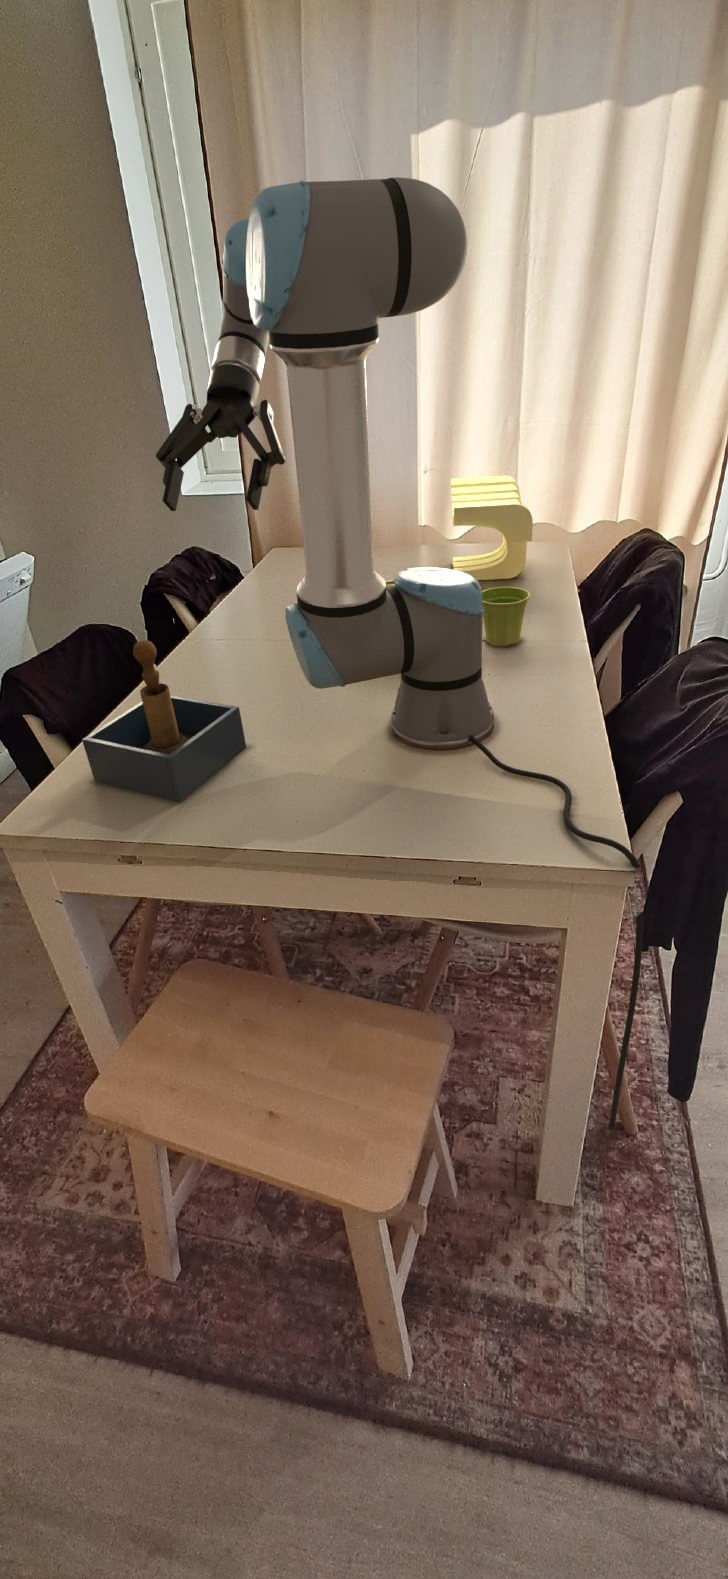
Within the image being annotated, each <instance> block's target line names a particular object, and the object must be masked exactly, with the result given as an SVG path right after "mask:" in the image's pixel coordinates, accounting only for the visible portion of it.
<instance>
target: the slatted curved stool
mask: <svg viewBox="0 0 728 1579" xmlns="http://www.w3.org/2000/svg"><path fill="white" fill-rule="evenodd" d="M450 494H451V514H452V526H453V527H459V526H460V527H461V526H463V527H464V526H466V527H467V526H468V527H469V526H470V527H471V526H473V527H474V526H475V527H486V528H490V529H493V530H494V529H495V530H497V531H499V532H500V533H501V534H502V536H503V537H502V543H501V545H500V546H499V547H497V549H495V550H492V551H490V552H487V553H482V554H477V555H476V554H475V555H470V556H458V557H456V556H455V557H452V569H453V570H457V571H461V572H464V573H467V574H469V575H471V576H472V577H474V578H475V579H476V580H477V581H488V580H505V579H506V580H507V579H513V578H516V577H517V576H518V575H520V573H521V572H522V571H523V570H524V567H525V565H526V561H527V547H528V542H532V541H533V524H534V522H533V516H532V513H531V511H530V509H529V508H528V507H527V505H525V504H522V501H521V494H520V487H519V485H518V482H517V481H516V480H515V479H514V478H513V477H512V476H509V475H489V476H474V477H458V478H450Z"/></svg>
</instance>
